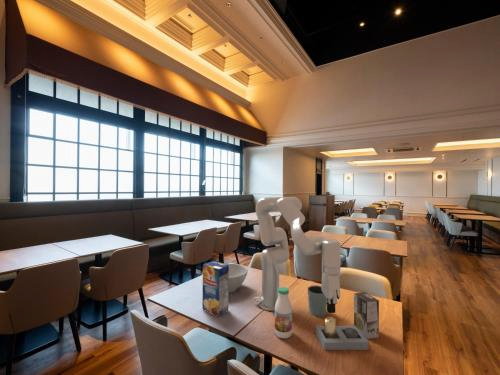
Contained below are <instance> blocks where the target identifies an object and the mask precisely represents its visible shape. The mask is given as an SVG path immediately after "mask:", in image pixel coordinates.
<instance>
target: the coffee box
mask: <svg viewBox="0 0 500 375" xmlns="http://www.w3.org/2000/svg"><path fill="white" fill-rule="evenodd" d="M379 302H380V300H379V299H377V298H375V297H373V296H372V295H370V294H369V293H367V292H366V291H363V292H357V293H356V292H354V293H353V326H356V327H357V328H358V330H359V331H360V332H361V334H362V335H363V336H364V337H365V339H366V340H368V339H369V340H370V339H376V338H379V336H380V335H379V334H380V332H379V330H380V328H379V327H380V323H379V322H380V319H379V318H380V312H379V311H380V303H379Z"/></svg>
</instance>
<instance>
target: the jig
mask: <svg viewBox="0 0 500 375" xmlns="http://www.w3.org/2000/svg"><path fill="white" fill-rule="evenodd" d="M315 333H316V335H317V337H318V339H319V342H320V343H321V346H322V348H323V350H324V351H347V350H348V351H352V350H353V351H366V350H367V351H369V344H370V343H369V341H368V339H367V338H366V337H364V336H363V335H362V334H361V332H360V331H359V330H358V328H357V327H356V326H354V325H336V339H326V338H325V325H316V326H315Z"/></svg>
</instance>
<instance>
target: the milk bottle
mask: <svg viewBox="0 0 500 375" xmlns="http://www.w3.org/2000/svg"><path fill="white" fill-rule="evenodd" d="M289 291H290V290H289V288H288V287H283V286H279V289H278V294H279V296H278V299H277V301H276V304H275V311H274V334H275V335H276V337H277V338H280V339H288V338H291V336H292V334H293V315H292V314H293V312H292V311H293V307H292V304H291V301H290V298H289Z"/></svg>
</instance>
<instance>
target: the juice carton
mask: <svg viewBox="0 0 500 375" xmlns="http://www.w3.org/2000/svg"><path fill="white" fill-rule="evenodd" d="M228 291H229V265H226V263H222V262H218V261H213V260H211V261H209V262H207V263H203V264H202V303H201V304H202V308H201V309H203V311H205V310H206V311H205V312H207V311H208V312H207V313H209V312H210V313H209V314H211V313H212V314H211V315H213V314H214V316H216V315H217V316H216V317H218V316H219V317H220V315H221V316H222V315H224V314H225V313H227V312H228V311H229V293H228ZM226 311H227V312H226ZM223 313H224V314H223Z"/></svg>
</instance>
